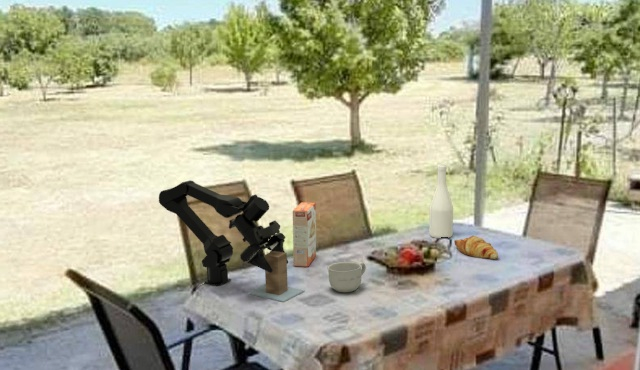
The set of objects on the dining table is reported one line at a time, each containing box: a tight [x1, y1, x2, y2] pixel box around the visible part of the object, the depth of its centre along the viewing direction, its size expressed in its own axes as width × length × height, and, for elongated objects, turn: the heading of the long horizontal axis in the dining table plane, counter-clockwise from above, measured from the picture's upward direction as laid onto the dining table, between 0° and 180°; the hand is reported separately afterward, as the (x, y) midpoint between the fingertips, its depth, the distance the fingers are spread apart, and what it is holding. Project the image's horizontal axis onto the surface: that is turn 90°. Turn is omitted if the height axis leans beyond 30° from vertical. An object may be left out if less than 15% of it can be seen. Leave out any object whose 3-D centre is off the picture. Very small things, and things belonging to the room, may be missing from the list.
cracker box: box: [292, 201, 317, 268], centre depth 239 cm, size 14×6×21 cm, turn 168°
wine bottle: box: [428, 163, 454, 239], centre depth 268 cm, size 10×10×30 cm
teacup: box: [327, 261, 367, 293], centre depth 211 cm, size 14×11×8 cm
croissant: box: [453, 235, 499, 260], centre depth 245 cm, size 21×10×8 cm, turn 35°
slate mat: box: [248, 284, 306, 303], centre depth 209 cm, size 14×11×1 cm
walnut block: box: [264, 251, 289, 295], centre depth 208 cm, size 5×5×12 cm
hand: (279, 267), depth 207 cm, fingers open, 9 cm apart
